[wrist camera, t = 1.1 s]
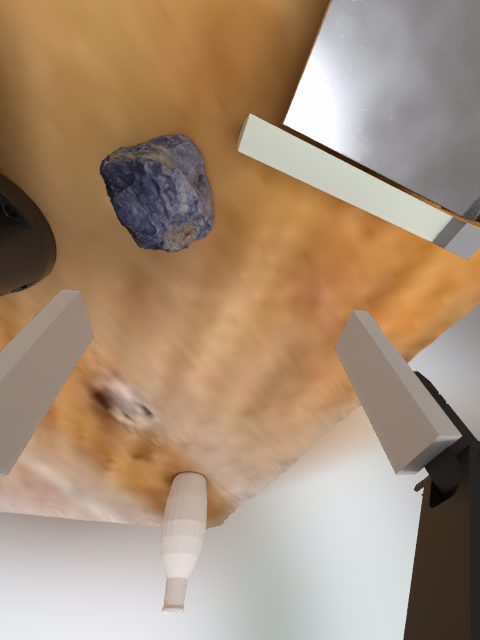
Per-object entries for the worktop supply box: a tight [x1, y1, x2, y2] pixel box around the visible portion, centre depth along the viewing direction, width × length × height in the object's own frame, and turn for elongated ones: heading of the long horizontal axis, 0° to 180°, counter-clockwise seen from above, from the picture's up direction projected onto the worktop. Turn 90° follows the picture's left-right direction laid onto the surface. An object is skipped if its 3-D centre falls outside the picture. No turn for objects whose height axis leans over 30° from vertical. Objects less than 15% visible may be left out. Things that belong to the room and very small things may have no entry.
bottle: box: [161, 472, 207, 613], centre depth 63 cm, size 11×11×25 cm
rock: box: [100, 134, 214, 252], centre depth 26 cm, size 11×10×10 cm
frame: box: [237, 114, 480, 260], centre depth 17 cm, size 20×20×14 cm
